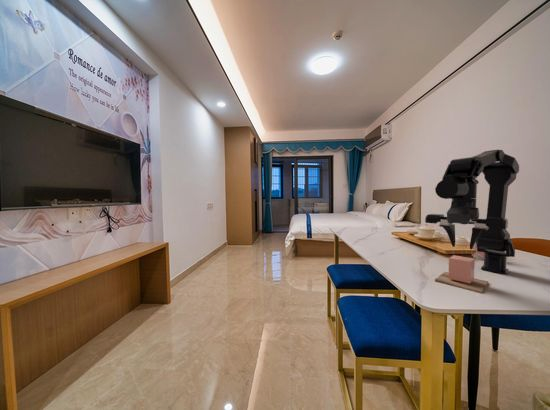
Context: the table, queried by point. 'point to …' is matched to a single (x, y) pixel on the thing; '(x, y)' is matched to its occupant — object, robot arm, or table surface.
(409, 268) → the table surface
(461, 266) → the pink rectangular block
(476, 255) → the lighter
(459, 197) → the robot arm
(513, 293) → the table surface
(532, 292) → the table surface
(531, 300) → the table surface
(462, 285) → the taupe inverted t block
